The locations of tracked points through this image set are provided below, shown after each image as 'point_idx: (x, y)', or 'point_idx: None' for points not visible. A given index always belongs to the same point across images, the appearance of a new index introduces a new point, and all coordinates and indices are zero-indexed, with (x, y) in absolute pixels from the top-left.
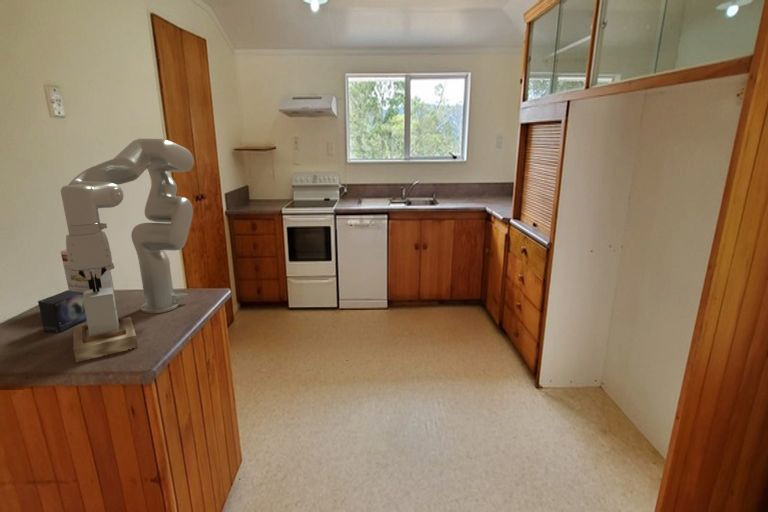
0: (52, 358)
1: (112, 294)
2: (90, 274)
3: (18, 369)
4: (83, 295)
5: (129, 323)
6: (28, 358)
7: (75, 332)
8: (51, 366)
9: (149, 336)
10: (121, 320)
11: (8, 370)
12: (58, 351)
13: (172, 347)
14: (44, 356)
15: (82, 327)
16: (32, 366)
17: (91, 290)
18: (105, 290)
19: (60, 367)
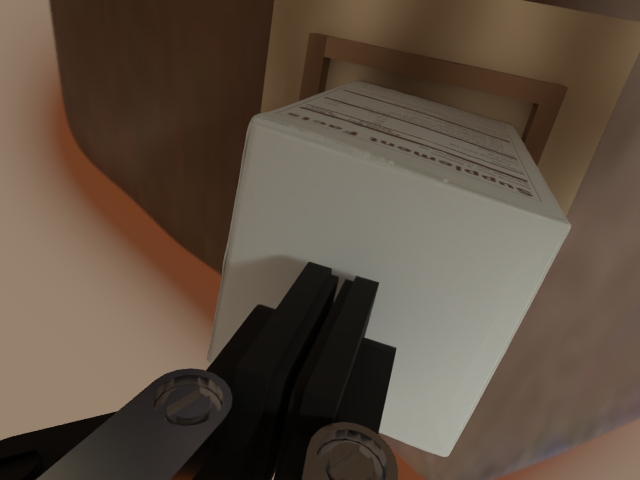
0: (198, 130)
1: (448, 451)
2: (208, 457)
3: (97, 136)
4: (223, 270)
5: (569, 163)
6: (119, 47)
7: (277, 53)
8: (192, 206)
9: (611, 241)
10: (535, 137)
11: (69, 116)
12: (222, 67)
13: (606, 430)
14: (172, 79)
15: (307, 67)
16: (136, 149)
17: (317, 173)
18: (436, 317)
19: (217, 241)
